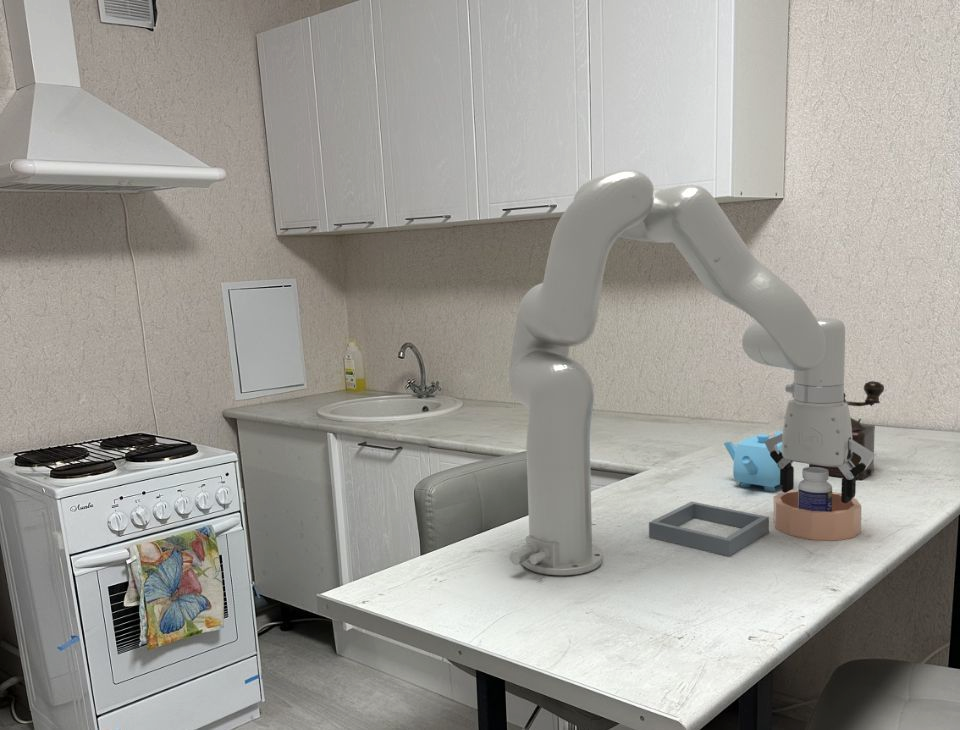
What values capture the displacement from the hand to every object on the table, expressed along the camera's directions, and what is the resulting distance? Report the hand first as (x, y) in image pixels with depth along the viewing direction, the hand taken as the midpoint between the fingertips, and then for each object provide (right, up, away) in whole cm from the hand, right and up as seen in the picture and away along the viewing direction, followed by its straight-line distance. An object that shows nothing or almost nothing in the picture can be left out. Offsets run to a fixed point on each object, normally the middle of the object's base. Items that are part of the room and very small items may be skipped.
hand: (816, 495), depth 131 cm
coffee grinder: (+21, 0, +34) cm, 40 cm away
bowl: (0, -5, +1) cm, 5 cm away
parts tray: (-18, -6, -1) cm, 19 cm away
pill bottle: (0, -5, +1) cm, 5 cm away
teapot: (0, -2, +26) cm, 26 cm away
